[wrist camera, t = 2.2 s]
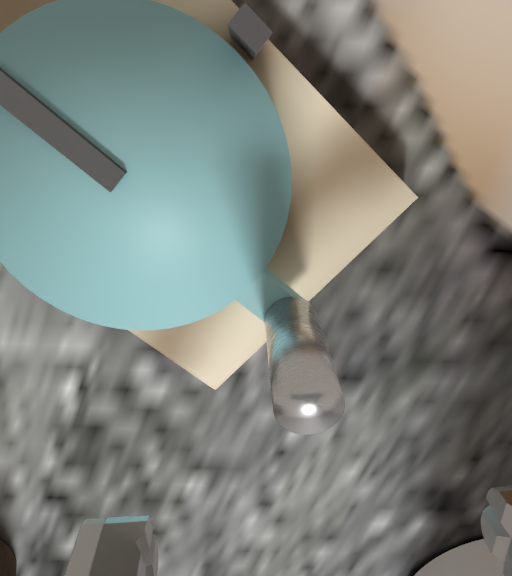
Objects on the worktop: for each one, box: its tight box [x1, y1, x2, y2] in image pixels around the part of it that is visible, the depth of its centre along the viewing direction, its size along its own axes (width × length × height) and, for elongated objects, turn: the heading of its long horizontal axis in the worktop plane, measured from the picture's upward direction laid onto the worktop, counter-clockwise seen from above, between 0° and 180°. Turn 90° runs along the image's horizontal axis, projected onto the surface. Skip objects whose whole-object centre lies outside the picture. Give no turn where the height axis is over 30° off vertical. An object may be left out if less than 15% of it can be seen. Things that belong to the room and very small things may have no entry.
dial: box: [0, 0, 345, 435], centre depth 16 cm, size 17×13×8 cm
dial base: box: [0, 0, 418, 390], centre depth 18 cm, size 20×14×6 cm
